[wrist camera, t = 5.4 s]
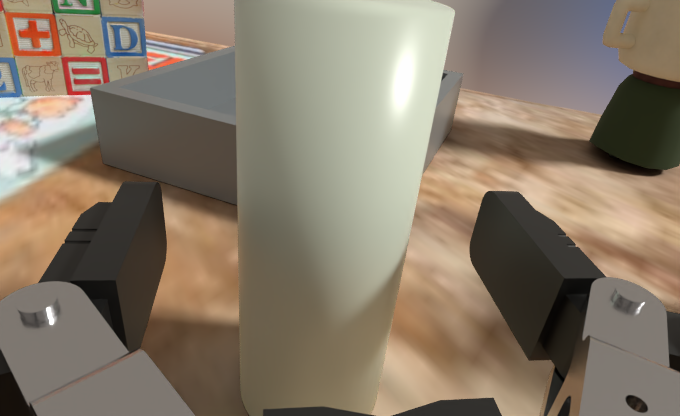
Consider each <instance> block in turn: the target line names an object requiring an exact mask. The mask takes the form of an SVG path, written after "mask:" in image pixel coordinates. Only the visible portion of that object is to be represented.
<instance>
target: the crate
mask: <svg viewBox="0 0 680 416" xmlns="http://www.w3.org/2000/svg"><path fill="white" fill-rule="evenodd" d="M462 78H463V74H462V73H457V72H452V71H447V70H443V74H442V79H441V84H440V89H439V94H438V99H437V104H436V108H435V113H434V118H433V123H432V128H431V133H430V138H429V143H428V148H427V153H426V158H425V163H424V167H423V172H422V175H423V173H424V172H425V170H426V168H427V167H428V165H429V164H430V162H431V160H432V159H433V157H434V156H435V154H436V152H437V151H438V149H439V148H440V146H441V144H442V143H443V141H444V140H445V138H446V137H447V135H448V133H449V132H450V130H451V127H452V123H453V118H454V114H455V109H456V105H457V101H458V96H459V92H460V87H461V83H462ZM90 91H91V97H92V103H93V109H94V114H95V120H96V126H97V132H98V138H99V143H100V149H101V155H102V161H103V164H106V165H110V166H113V167H116V168H119V169H122V170H126V171H129V172H132V173H135V174H138V175H142V176H145V177H148V178H151V179H154V180H158V181H161V182H164V183H167V184H170V185H174V186H177V187H180V188H183V189H186V190H190V191H193V192H196V193H199V194H203V195H206V196H209V197H212V198H215V199H219V200H222V201H225V202H228V203H231V204H235V205H237V145H236V82H235V46H232V47H229V48H225V49H222V50H218V51H215V52H211V53H208V54H205V55H201V56H198V57H194V58H191V59H187V60H184V61H180V62H177V63H174V64H170V65H167V66H163V67H160V68H156V69H153V70H150V71H146V72H143V73H139V74H136V75H132V76H129V77H125V78H122V79H119V80H115V81H112V82H108V83H105V84H101V85H98V86H94V87H91V88H90Z"/></svg>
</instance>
